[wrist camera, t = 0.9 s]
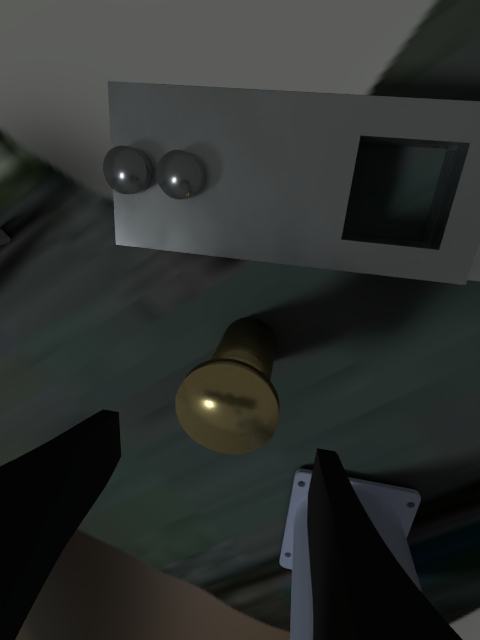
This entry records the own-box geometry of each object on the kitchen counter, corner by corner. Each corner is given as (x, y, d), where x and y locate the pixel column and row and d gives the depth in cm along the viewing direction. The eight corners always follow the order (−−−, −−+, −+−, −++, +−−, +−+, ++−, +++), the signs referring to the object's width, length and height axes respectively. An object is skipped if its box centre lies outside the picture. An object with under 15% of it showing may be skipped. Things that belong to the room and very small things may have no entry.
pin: (281, 379, 22) (272, 462, 15) (212, 368, 22) (174, 444, 16) (291, 313, 20) (285, 374, 14) (215, 303, 21) (176, 357, 14)
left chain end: (445, 272, 18) (473, 290, 15) (136, 237, 20) (107, 247, 17) (493, 115, 15) (538, 99, 12) (132, 94, 17) (97, 76, 14)
